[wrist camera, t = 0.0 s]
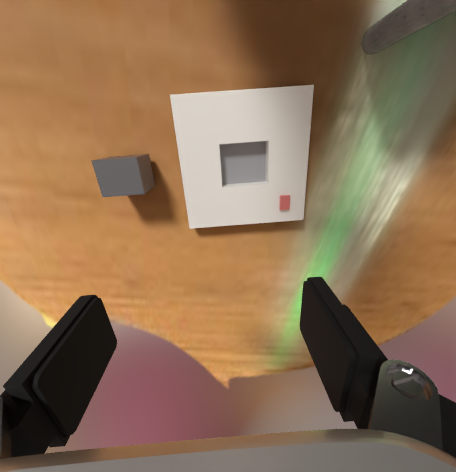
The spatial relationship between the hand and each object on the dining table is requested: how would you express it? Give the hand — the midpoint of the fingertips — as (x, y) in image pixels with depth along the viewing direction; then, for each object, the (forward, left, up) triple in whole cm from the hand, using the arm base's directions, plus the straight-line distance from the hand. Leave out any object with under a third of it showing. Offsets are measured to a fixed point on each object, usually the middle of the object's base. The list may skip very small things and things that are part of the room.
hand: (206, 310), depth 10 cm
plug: (-3, -13, -31) cm, 34 cm away
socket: (-3, +5, -31) cm, 32 cm away
